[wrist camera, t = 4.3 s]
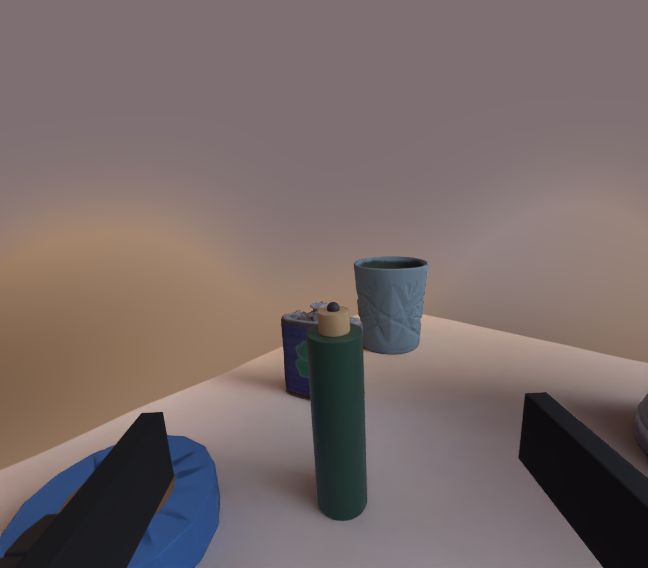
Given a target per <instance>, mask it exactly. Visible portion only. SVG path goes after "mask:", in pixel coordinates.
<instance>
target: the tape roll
mask: <svg viewBox="0 0 648 568" xmlns="http://www.w3.org/2000/svg"><path fill="white" fill-rule="evenodd" d="M167 438H168V444H169V450H170V455H171V461H172V467H173V472H174V478H173V480H172V481H171V483H170V485H169V487H168V489H167V491H166V493H165V495H164V497H163V499H162V501H161V503H160V505H159V507H158V509H157V510H156V512H155V514H154V516H153V518H152V520H151V522H150V524H149V526H148V528H147V530H146V532H145V534H144V536H143V538H142V539H141V541H140V543H139V545H138V547H137V549H136V551H135V553H134V555H133V557H132V559H131V561H130V563H129V565H128V567H127V568H194V567H195V566H196V565H197V564H198V563H199V562H200V560H201V559H202V557H203V555H204V553H205V551H206V549H207V547H208V545H209V543H210V541H211V539H212V537H213V535H214V533H215V531H216V529H217V526H218V522H219V505H220V494H219V487H218V481H217V474H216V467H215V463H214V461H213V460H212V458H211V456H210V455H209V453H208V451H207V450H206V448H205V446H203V445H201V444H199V443H197V442H195V441H193V440H191V439H189V438H187V437H184V436H169V435H167ZM114 446H115V445H114ZM114 446H111V447H109V448H106V449H104V450H101V451H98V452H96V453H93V454H92V455H90V456H88V457H86V458H85V459H83V460H81V461H80V462H78V463H76V464H75V465H73V466H71V467H70V468H68V469H66V470H65V471H63V472H61V473H59V474H58V475H57V476H55V477H54V478H53V479H52V480H50V481H49V482H48V483H47V484H46V485H45V486H43V487H42V488H41V489H40V490H39V491H38V492H37V493H35V494H34V495H33V496H32V497H31V498H30V499H28V500H27V501H26V502H25V503H24V504H23V505H22V507H21V508H20V509H19V511H18V512H17V514H16V515H15V517H14V518H13V519H12V521H11V522H10V524H9V525H8V526H7V528H6V529H5V531H4V532H3V533H2V535H1V537H0V558H3V557H4V553H5V552H6V551H7V550H8V549H9V548H10V547H11V545H12V544H13V543H14V542H15V541H16V540H17V539H18V538H19V536H20V535H21V534H22V533H23V532H24V531H25V530H27V529H28V528H29V527H31V526H32V525H33V524H34V523H36V522H37V521H38V520H40V519H41V518H42V517H43V516H45V515H46V514H59V513H60V512H61V511H62V509H63V508H64V507H65V506H66V504H67V503H68V502H69V501H70V500H71V498H72V497H73V496H74V495H75V494H76V492H77V491H78V490H79V489H80V487H81V486H82V485H83V484H84V483H85V481H86V480H87V479H88V478H89V476H90V475H91V474H92V473H93V472H94V470H95V469H96V468H97V467H98V466H99V464H100V463H101V462H102V461H103V459H104V458H105V457H106V456H107V455H108V453H109V452H110V451H111V450H112V449H113V447H114Z"/></svg>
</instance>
